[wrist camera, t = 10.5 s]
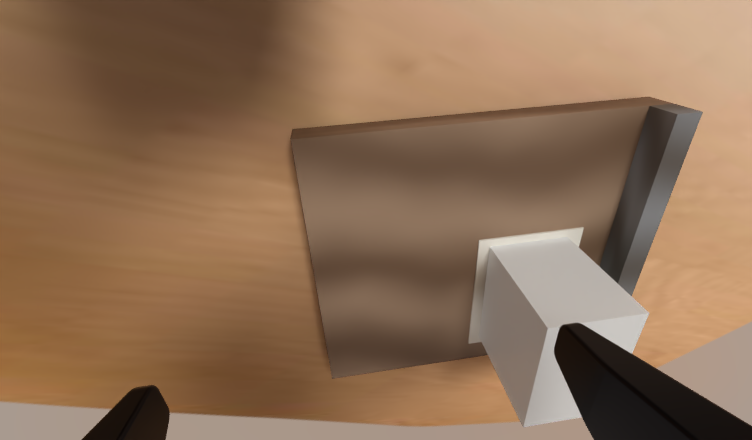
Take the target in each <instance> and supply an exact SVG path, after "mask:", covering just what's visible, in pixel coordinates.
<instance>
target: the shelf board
mask: <svg viewBox="0 0 752 440" xmlns="http://www.w3.org/2000/svg"><path fill="white" fill-rule="evenodd" d="M702 113H703V112H701V111H698V110H694V109H691V108H687V107H684V106H680V105H676V104H673V103H669V102H666V101H662V100H659V99H655V98H651V97H641V98H630V99H620V100H609V101H598V102H587V103H576V104H565V105H554V106H543V107H532V108H521V109H510V110H499V111H488V112H477V113H467V114H456V115H445V116H434V117H423V118H412V119H401V120H390V121H379V122H368V123H357V124H346V125H335V126H324V127H314V128H303V129H293V130H292V135H291V144H292V150H293V155H294V161H295V167H296V173H297V178H298V184H299V190H300V196H301V201H302V207H303V213H304V219H305V224H306V230H307V236H308V242H309V247H310V253H311V259H312V265H313V271H314V276H315V282H316V288H317V294H318V299H319V305H320V311H321V317H322V322H323V328H324V334H325V340H326V345H327V351H328V357H329V363H330V368H331V374H332V379H334V378H340V377H347V376H353V375H360V374H366V373H373V372H379V371H386V370H392V369H399V368H405V367H412V366H419V365H425V364H432V363H438V362H445V361H451V360H458V359H464V358H471V357H477V356H484V355H488V354H487V352H486V350H485V348H484V346H483V344H482V342H481V340H480V338H479V332H480V324H481V315H482V307H483V299H484V290H485V282H486V274H487V266H488V257H489V249H490V247H491V246H499V245H507V244H515V243H523V242H531V241H538V240H546V239H554V238H562V237H568V238H569V239H570V240H571V241H572V242H573V243H575V244H576V245H577V246H578V247H579V248H580V249H581V250H582V251H583V252H584V253H585V254H586V255H587V256H588V257H590V258H591V259H592V260H593V261H594V262H595V263H596V264H597V265H598V266H599V267H600V268H601V269H602V270H604V271H605V272H606V273H607V274H608V275H609V276H610V277H611V278H612V279H613V280H614V281H615V282H616V283H618V284H619V285H620V286H621V287H622V288H623V289H624V290H625V291H626V292H627V293H628V294H629V295H630V296H632V294H633V291H634V288H635V286H636V283H637V281H638V278H639V276H640V273H641V270H642V268H643V265H644V263H645V260H646V257H647V255H648V252H649V250H650V247H651V244H652V242H653V239H654V237H655V234H656V232H657V229H658V226H659V224H660V221H661V219H662V216H663V213H664V211H665V208H666V206H667V203H668V201H669V198H670V195H671V193H672V190H673V188H674V185H675V182H676V180H677V177H678V175H679V172H680V170H681V167H682V164H683V162H684V159H685V157H686V154H687V151H688V149H689V146H690V144H691V141H692V138H693V136H694V133H695V131H696V128H697V126H698V123H699V120H700V118H701V115H702Z"/></svg>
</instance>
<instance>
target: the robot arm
mask: <svg viewBox="0 0 752 440" xmlns="http://www.w3.org/2000/svg"><path fill="white" fill-rule="evenodd" d="M554 355H555V358H556V361H557V363H558V365H559V368H560V370H561V372H562V374H563V376H564V379H565V381H566V383H567V385H568V387H569V390H570V392H571V394H572V396H573V399H574V401H575V403H576V405H577V407H578V410H579V412H580V414H581V416H582V418H583V420H584V422H585V424H586V426H587V428H588V430H589V431H590V433H591V435H592V437H593V438H594V440H752V426H751V425H749V424H748V423H746V422H744V421H742V420H741V419H739V418H737V417H736V416H734V415H733V414H731V413H729V412H727V411H726V410H724V409H723V408H721V407H719V406H717V405H716V404H714V403H713V402H711V401H709V400H708V399H706V398H704V397H703V396H701V395H699V394H698V393H696V392H694V391H693V390H691V389H689V388H688V387H686V386H684V385H683V384H681V383H679V382H678V381H676V380H674V379H673V378H671V377H669V376H668V375H666V374H664V373H663V372H661V371H660V370H658V369H656V368H655V367H653V366H651V365H650V364H648V363H646V362H645V361H643V360H641V359H640V358H638V357H636V356H635V355H633V354H631V353H630V352H628V351H626V350H625V349H623V348H621V347H620V346H618V345H616V344H615V343H613V342H611V341H610V340H608V339H606V338H605V337H603V336H601V335H600V334H598V333H596V332H595V331H593V330H591V329H590V328H588V327H586V326H585V325H583V324H581V323H569V324H563V325H562V326H561V327H560V328H559V332H558V335H557V339H556V342H555V346H554ZM169 415H170V414H169V408H168V406H167V404H166V402H165V400H164V398H163V397H162V395H161V393H160V391H159V389H158V388H157V387H156V386H154V385H148V386H141V387H136V388H134V389H132V390H131V391H129V392H128V393H127V394H126V395H125V396H124V397H123V398H122V399H121V400H120V401H119V402H118V403H117V404H116V405H115V406H114V407H113V408H112V409H111V410H110V411H109V413H108V414H107V415H106V416H105V417H104V418H103V419H102V420H101V421H100V422H99V423H98V424H97V425H96V426H95V427H94V428H93V429H92V430H91V431H90V432H89V433H88V434H87V435H86V436H85V437H84V438H83V439H82V440H165V439H166V434H167V429H168V423H169Z"/></svg>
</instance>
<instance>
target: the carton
mask: <svg viewBox="0 0 752 440" xmlns="http://www.w3.org/2000/svg"><path fill="white" fill-rule="evenodd" d="M648 315H649V312H648V311H647V310H645V309H644V308H643V307H642V306H641V305H640V304H639V303H638V302H637V301H636V300H635V299H634V298H633V297H631V296H630V295H629V294H628V293H627V292H626V291H625V290H624V289H623V288H622V287H621V286H620V285H619V284H618V283H616V282H615V281H614V280H613V279H612V278H611V277H610V276H609V275H608V274H607V273H606V272H605V271H604V270H602V269H601V268H600V267H599V266H598V265H597V264H596V263H595V262H594V261H593V260H592V259H591V258H590V257H588V256H587V255H586V254H585V253H584V252H583V251H582V250H581V249H580V248H579V247H578V246H577V245H576V244H575V243H573V242H572V241H571V240H570V239H569V238H568V237H562V238H554V239H546V240H538V241H531V242H523V243H515V244H507V245H499V246H491V247H490V249H489V257H488V266H487V274H486V282H485V290H484V299H483V307H482V315H481V324H480V332H479V338H480V340H481V342H482V344H483V346H484V348H485V350H486V352H487V354H488V356H489V358H490V360H491V362H492V364H493V366H494V368H495V371H496V373H497V375H498V377H499V379H500V381H501V383H502V385H503V387H504V389H505V391H506V393H507V395H508V397H509V399H510V401H511V403H512V405H513V407H514V410H515V412H516V414H517V416H518V418H519V420H520V422H521V424H522V426H523V427H528V426H533V425H540V424H545V423H551V422H556V421H563V420H568V419H574V418H580V417H582V416H581V414H580V412H579V410H578V407H577V405H576V403H575V401H574V399H573V396H572V394H571V392H570V390H569V387H568V385H567V383H566V381H565V379H564V376H563V374H562V372H561V370H560V368H559V365H558V363H557V361H556V358H555V355H554V346H555V342H556V339H557V335H558V332H559V328H560V327H561V326H562V325H563V324H569V323H581V324H583V325H585V326H586V327H588V328H590V329H591V330H593V331H595V332H596V333H598V334H600V335H601V336H603V337H605V338H606V339H608V340H610V341H611V342H613V343H615V344H616V345H618V346H620V347H621V348H623V349H625V350H626V351H628V352H630V353H631V354H632V352H633V350H634V348H635V345H636V343H637V341H638V338H639V336H640V334H641V331H642V329H643V327H644V324H645V322H646V320H647V317H648Z"/></svg>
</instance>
